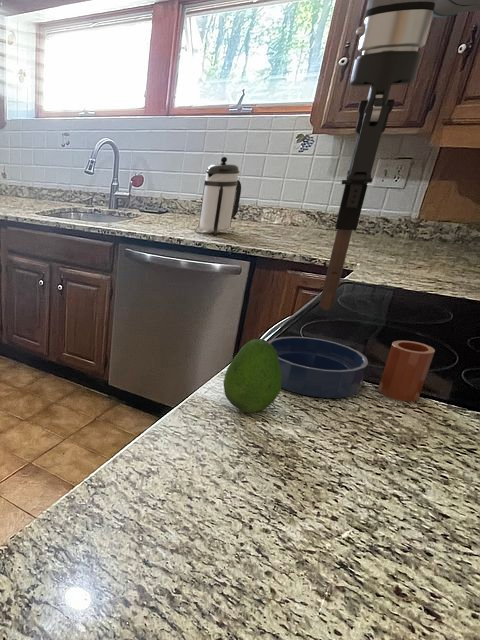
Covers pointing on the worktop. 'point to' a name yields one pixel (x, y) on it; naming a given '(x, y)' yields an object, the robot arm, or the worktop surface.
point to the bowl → (319, 367)
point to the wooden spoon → (335, 269)
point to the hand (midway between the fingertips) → (345, 227)
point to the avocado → (253, 377)
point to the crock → (405, 370)
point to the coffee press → (220, 197)
